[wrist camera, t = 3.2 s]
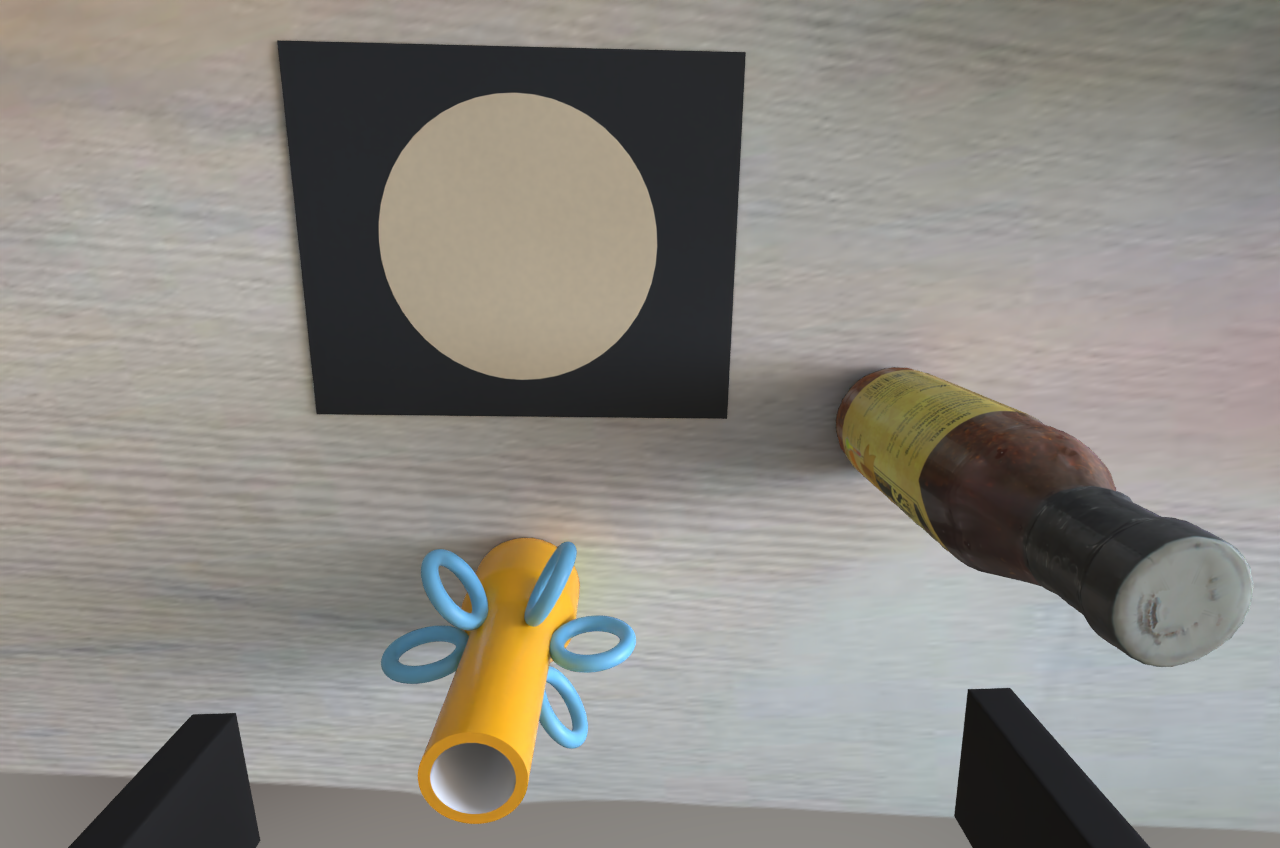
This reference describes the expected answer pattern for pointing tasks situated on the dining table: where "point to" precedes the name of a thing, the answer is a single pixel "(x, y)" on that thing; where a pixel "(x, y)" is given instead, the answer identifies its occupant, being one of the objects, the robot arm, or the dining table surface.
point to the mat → (515, 227)
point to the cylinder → (501, 672)
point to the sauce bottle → (1043, 515)
